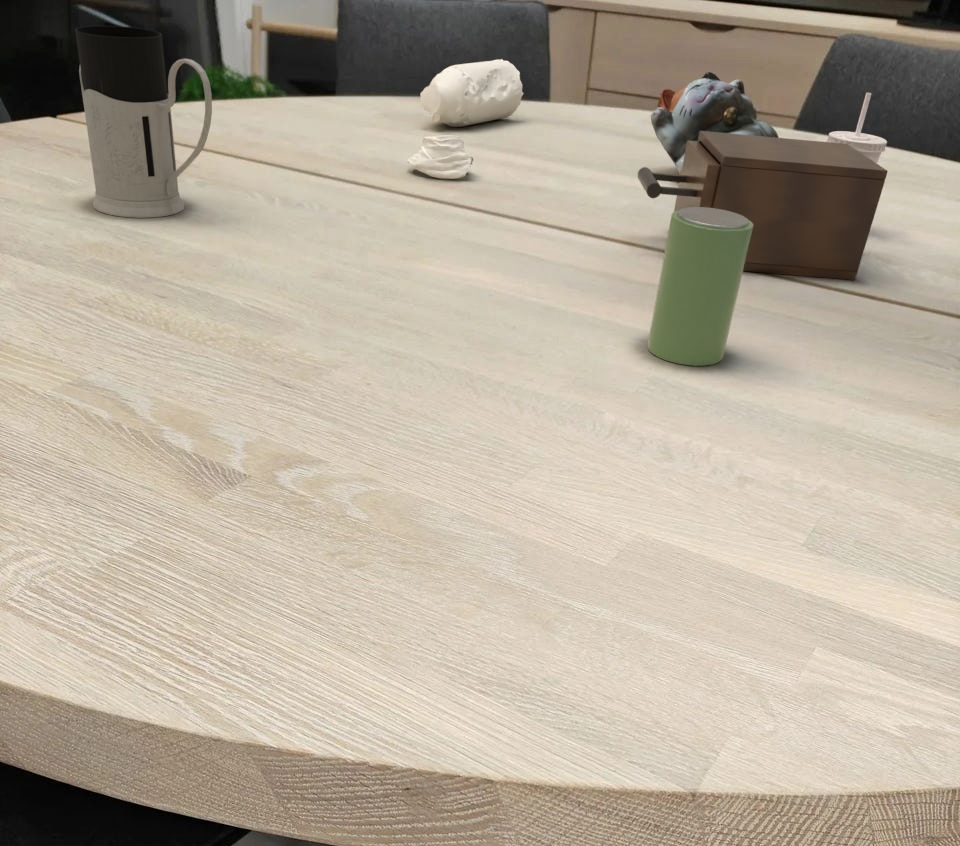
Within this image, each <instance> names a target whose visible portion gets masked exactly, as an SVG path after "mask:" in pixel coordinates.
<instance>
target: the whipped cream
mask: <svg viewBox="0 0 960 846" xmlns="http://www.w3.org/2000/svg"><path fill="white" fill-rule="evenodd" d="M465 151H466V150H465V141H464V139H462V138H461V136H459V135H450V134H449V135H433V136H429V135H427V136H424V137H423V138H422V145H420V148H419V150H418V151H417V153H413V155H412V156H411V157H409V158H408V159H407V163H408V164H410V165H411V167H412V168H413V169H415V170H416V171H418V172H421V173H423V174H425V175H428V176H429V177H433V178H437V179H442V180H445V179H449V180H455V179H460V178H464V177H465V176H466V174H467V173H468V171H469V168H470V167H471V166H473V162H474V157H473V156H472V155H471V154H469V153H468V152H465Z"/></svg>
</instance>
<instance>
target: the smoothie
mask: <svg viewBox="0 0 960 846" xmlns="http://www.w3.org/2000/svg"><path fill="white" fill-rule="evenodd" d="M871 97H872V93H871V92H865V96H864V100H863V103H862V107H861V111H860V114H859V118H858V121H857V125H856V129H855V131H845V130H844V131H843V130H836V131H831V132H829V133H828V136H827V139H826V141H825V142H831V143H843V144H848V145H850V146H851V147H853V148H854V149H856V150H857V151H859V152H860V153H862V154H863V155H865V156H866V157H868V158H869V159H871V160H872V161H874V162H875V163H877V164H878V162H879V159H880V158H881V155H882V153H884V152H885V151H886V147H887V144H888V141H887V140H886V139H885V138H883V137H881V136H877V135H873V134H868V133H863V132H862V129H863V126H864V123H865V119H866V115H867V111H868V108H869V104H870V102H871V101H870V100H871Z"/></svg>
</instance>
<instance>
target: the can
mask: <svg viewBox="0 0 960 846" xmlns="http://www.w3.org/2000/svg"><path fill="white" fill-rule="evenodd" d="M669 221H670V222H669V227H668V231H667V238H666V243H665V248H664V254H663V259H662V265H661V270H660V276H659V281H658V286H657V291H656V297H655V303H654V306H653V307H654V308H653V312H652V319H651V324H650V329H649V334H648V340H647V345H646V347H647V349H648V351H649V352H650V353H651V354H652V355H654V356H656V357H657V358H659V359H661V360H664V361H667V362H669V363H674V364H678V365H683V366H691V367H692V366H694V367H703V366H704V367H705V366H711V365H715V364H718V363H720V362H721V361H722V360H723V358H724V354H725V350H726V346H727V341H728V338H729V333H730V328H731V325H732V321H733V316H734V312H735V307H736V303H737V298H738V295H739V290H740V286H741V283H742V277H743V273H744V271H743V269H744V265H745V261H746V257H747V252H748V248H749V244H750V239H751V235H752V231H753V227H754V226H753V223H752V222H751V221H750V220H748V219H747V218H746V217H744V216H742V215H740V214H737V213H734V212H730V211H726V210H721V209H715V208H707V207H688V208H683V209H680V210H677V211H674V210H673V212H672V213H671V216H670V220H669Z"/></svg>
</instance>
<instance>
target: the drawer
mask: <svg viewBox="0 0 960 846" xmlns="http://www.w3.org/2000/svg"><path fill="white" fill-rule="evenodd" d="M720 165H721V163H720V162H719V161H718V160H717V159H716V158H715V157H714V156H713V154H712V153H711V154H709V152H708V151H707V150H706V149H705V148H704V147H703V146H702V145H701V144H700V143H699V142H698V141H687V144H686V150H685V155H684V160H683V166H682V171H681V175H679V174H673V173H663V172H652V171H651V169H650V168H649V167H646V166H644V167H641V168H639V170H638V172H637V179H638V181H639V183H640V185H641V186H642V187H643V190H644V191H645V193H646V194H647V196H648V197H649V198H650V199H656V198H658V197H659V196H660V195H668V196H676V198H675V204H674V209H673V212H674V211H677V210H680V209H683V208H688V207H707V208H712V204H713V199H714V195H715V190H716V185H717V180H718V175H719V171H720ZM658 181H661V182H670V183H671V182H672V183H678V187H675V186H674V187H673V186H661V185H660V183H659V182H658Z"/></svg>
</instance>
